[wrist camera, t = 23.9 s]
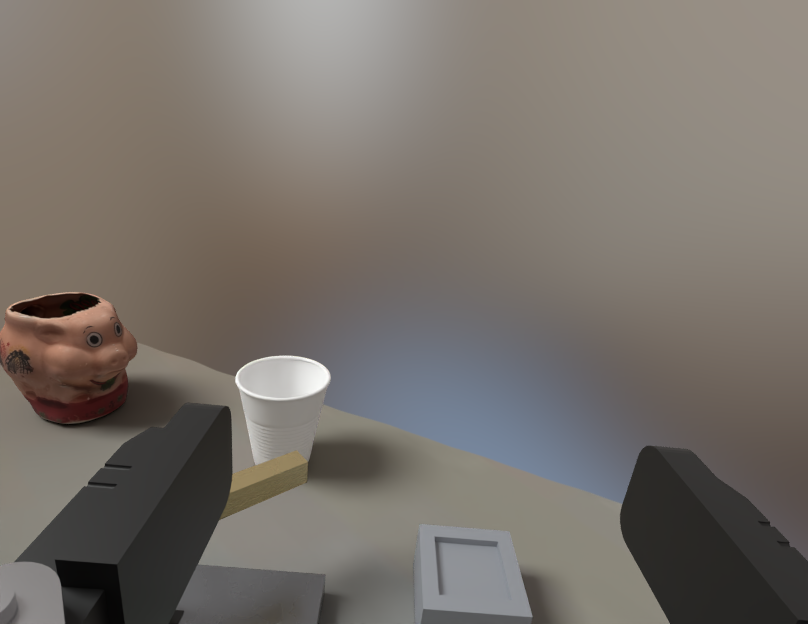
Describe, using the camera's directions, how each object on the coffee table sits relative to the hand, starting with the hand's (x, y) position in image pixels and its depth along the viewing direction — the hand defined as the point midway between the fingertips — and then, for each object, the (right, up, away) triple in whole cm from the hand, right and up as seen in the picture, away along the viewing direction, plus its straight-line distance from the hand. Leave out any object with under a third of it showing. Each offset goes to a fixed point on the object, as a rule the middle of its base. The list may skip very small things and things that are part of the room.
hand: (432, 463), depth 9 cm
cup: (-15, -14, +45) cm, 50 cm away
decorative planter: (-43, -9, +51) cm, 68 cm away
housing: (+4, -22, +30) cm, 37 cm away
